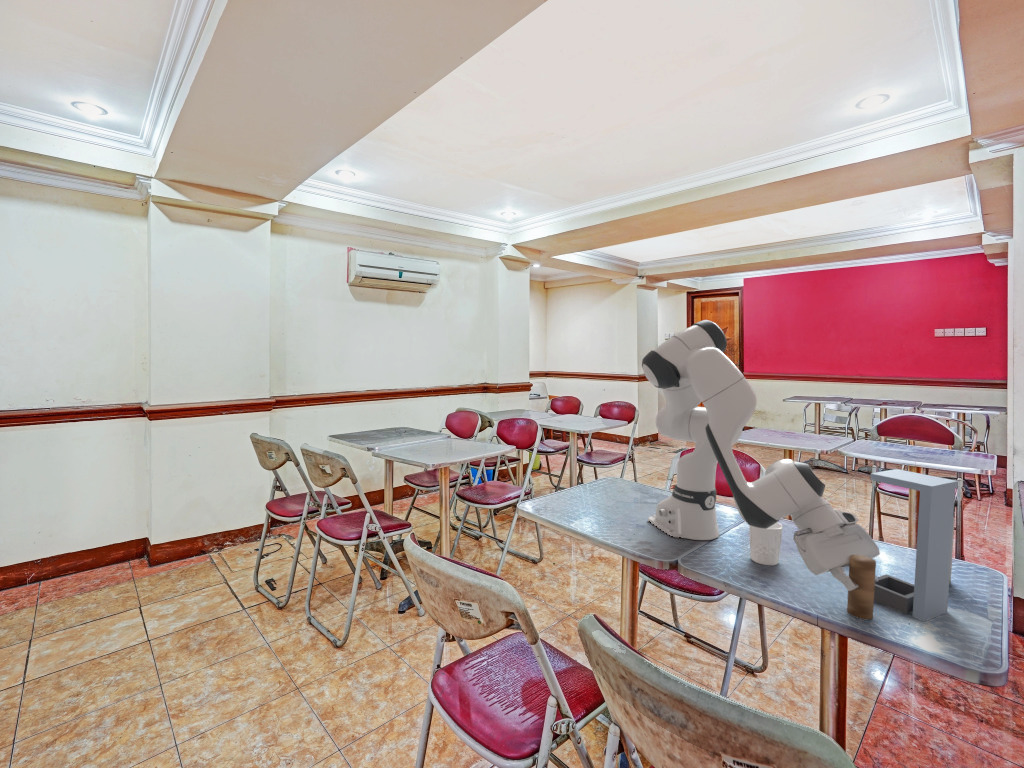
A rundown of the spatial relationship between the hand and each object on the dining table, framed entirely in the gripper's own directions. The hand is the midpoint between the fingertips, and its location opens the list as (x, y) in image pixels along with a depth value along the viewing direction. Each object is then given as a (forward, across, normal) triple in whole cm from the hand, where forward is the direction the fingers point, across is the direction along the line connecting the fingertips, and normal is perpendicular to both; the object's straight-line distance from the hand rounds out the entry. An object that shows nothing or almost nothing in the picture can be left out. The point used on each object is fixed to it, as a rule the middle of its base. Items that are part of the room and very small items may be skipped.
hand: (864, 586), depth 103 cm
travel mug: (+3, +33, +6) cm, 34 cm away
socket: (+4, +13, +5) cm, 15 cm away
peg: (+4, 0, +5) cm, 6 cm away
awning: (+5, +14, +4) cm, 16 cm away
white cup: (-15, +5, +24) cm, 29 cm away
